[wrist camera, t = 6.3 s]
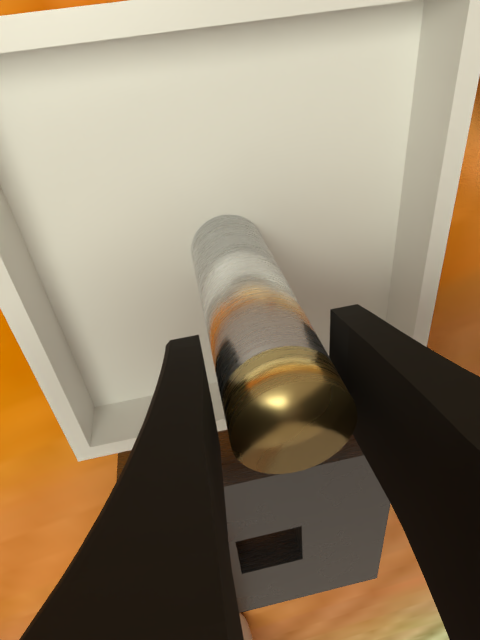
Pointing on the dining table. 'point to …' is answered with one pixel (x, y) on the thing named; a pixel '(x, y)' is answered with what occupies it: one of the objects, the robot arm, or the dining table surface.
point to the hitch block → (300, 526)
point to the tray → (218, 175)
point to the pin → (266, 355)
